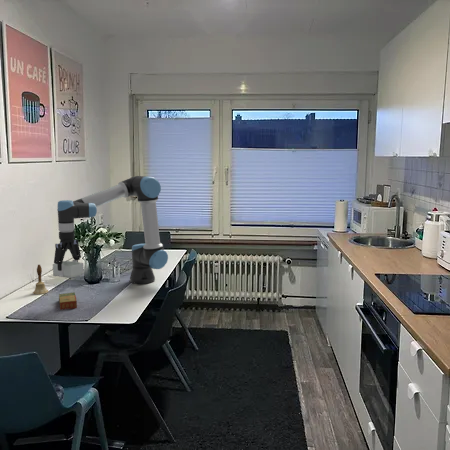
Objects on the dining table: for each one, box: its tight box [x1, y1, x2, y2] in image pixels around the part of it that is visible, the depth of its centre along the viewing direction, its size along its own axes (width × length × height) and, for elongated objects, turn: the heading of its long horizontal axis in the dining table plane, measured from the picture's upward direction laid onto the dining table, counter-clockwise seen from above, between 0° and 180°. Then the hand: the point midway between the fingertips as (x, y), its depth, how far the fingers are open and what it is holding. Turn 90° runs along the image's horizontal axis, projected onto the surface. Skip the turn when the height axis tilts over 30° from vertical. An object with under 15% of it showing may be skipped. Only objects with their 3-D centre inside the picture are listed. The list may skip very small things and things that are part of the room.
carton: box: [58, 292, 78, 311], centre depth 235 cm, size 8×16×4 cm, turn 21°
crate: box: [52, 260, 85, 279], centre depth 232 cm, size 9×12×6 cm
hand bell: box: [32, 264, 49, 295], centre depth 255 cm, size 8×8×16 cm
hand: (68, 274), depth 233 cm, fingers closed on crate, 9 cm apart
